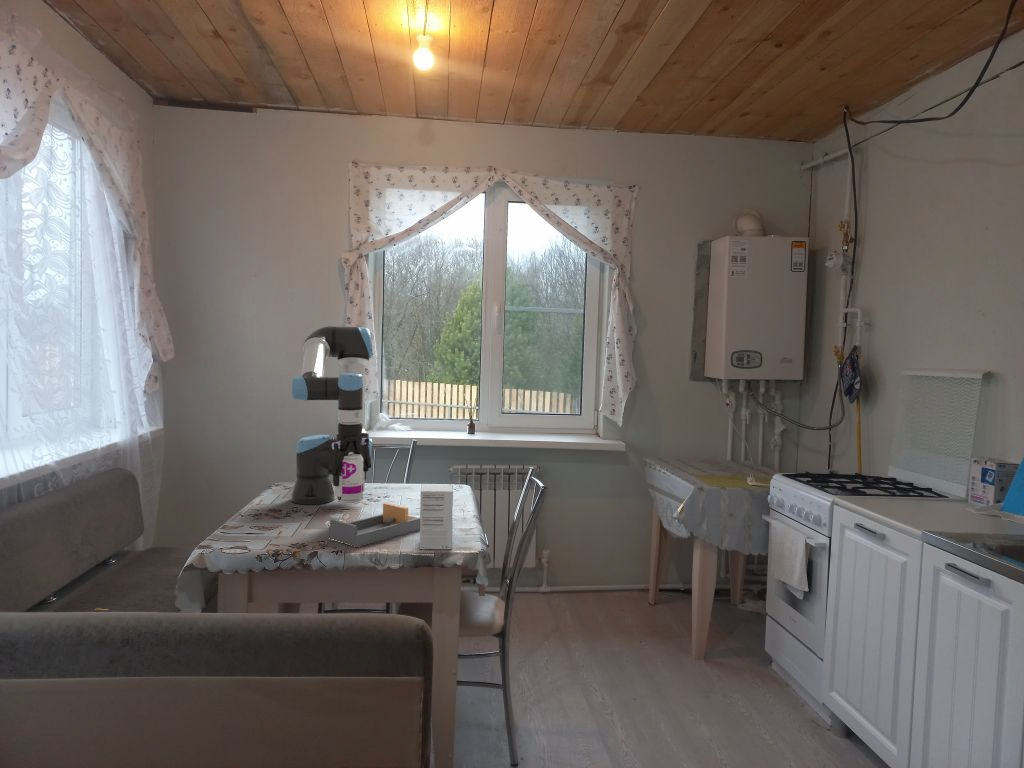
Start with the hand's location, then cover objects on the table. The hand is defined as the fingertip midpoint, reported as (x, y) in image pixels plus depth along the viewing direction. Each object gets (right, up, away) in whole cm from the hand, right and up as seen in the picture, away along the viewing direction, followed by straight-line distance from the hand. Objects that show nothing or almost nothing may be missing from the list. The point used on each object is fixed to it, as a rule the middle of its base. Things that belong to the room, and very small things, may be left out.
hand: (349, 493), depth 216 cm
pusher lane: (+11, -11, -11) cm, 18 cm away
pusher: (+14, -9, -6) cm, 18 cm away
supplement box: (+30, -12, -20) cm, 38 cm away
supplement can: (0, -3, 0) cm, 3 cm away
